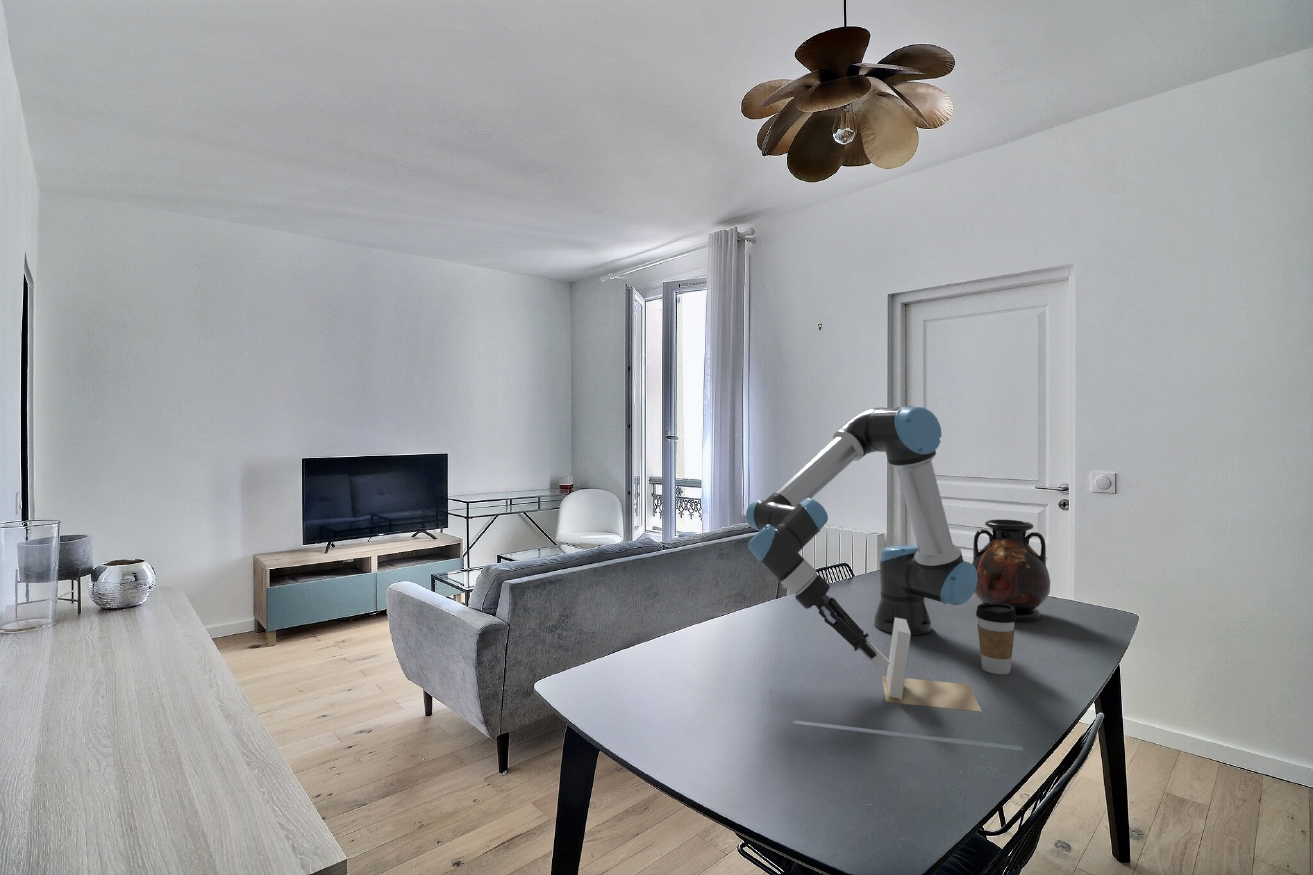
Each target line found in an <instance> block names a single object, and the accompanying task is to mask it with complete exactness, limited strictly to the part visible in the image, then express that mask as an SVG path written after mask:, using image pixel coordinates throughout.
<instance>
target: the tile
mask: <svg viewBox="0 0 1313 875" xmlns="http://www.w3.org/2000/svg"><path fill="white" fill-rule="evenodd" d="M891 635H892V636H891V642H890V648H889V649H890V650H889V656H888V657H889V658H888V660H889V661H890V664H889V665H888V666H887V672H886V680H887V686H888V691H889V697H893V698H898V699H902V693H903V688H904V681H905V678H906V673H907V666H908V665H907V664H908V657H909V651H910V644H911V636H912V635H911V633H910V630H909V627H908V624H907V621H906V619H901V618H895V619H894V626H893V633H891Z"/></svg>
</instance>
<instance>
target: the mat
mask: <svg viewBox="0 0 1313 875" xmlns="http://www.w3.org/2000/svg"><path fill="white" fill-rule="evenodd" d="M886 677H887V675H886V676H884V675H881V679H882V680H881V681H882V686H883V690H884V691H883V692H884V699H885V702H886V703H891V704H893V703H895V704H902V705H903V704H904V705H911V706H912V705H914V706H921V707H931V708H939V709H940V708H942V709H952V710H960V711H962V710H963V711H969V712H971V711H972V712H980V713H982V712H983V711H982V709H981V706H980V705H979V703H978V700H977V698H976V697H975V695H974V692H973V690H972V688H971V686H970V684H969V683H958V682H949V681H937V680H936V681H935V680H927V679H918V678H916V679H915V678H906V677H905V681H904V688H903V693H902V699H898V698H893V697H889V691H888V686H887V680H886Z"/></svg>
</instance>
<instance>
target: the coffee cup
mask: <svg viewBox="0 0 1313 875" xmlns="http://www.w3.org/2000/svg"><path fill="white" fill-rule="evenodd" d="M976 608H977V609H976V612H975V616H976V618H977V621H978V623H977V631H978V641H979V642H978V643H979V652H980V660H981V669H982V670H983V671H985V672H986V673H990V674H994V675H1001V676H1002V675H1008V674H1010V673H1011V670H1012V669H1011V667H1012V666H1011V665H1012V657H1013V648H1014V638H1015V630H1016V628H1015V622H1017V621H1016V618H1017V617H1016V613H1015V607H1013V606H1011V605H1007V604H981V605H979V604H978V605H977V607H976Z"/></svg>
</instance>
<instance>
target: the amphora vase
mask: <svg viewBox="0 0 1313 875" xmlns="http://www.w3.org/2000/svg"><path fill="white" fill-rule="evenodd" d="M984 525H985V526H986V527H988V528H990V529H991V532H992V533H991V532H990V531H989V530H987V529H979V530H977V531H976V532H975V535H974V536H973V551H972V554H973V555H972V559H973V561H972V563H971V564H972V565H974V567H975V568H976V571H977V585H976V589H975V591H974V593H973V594H974V595H975V597H976V598H977V599H978V600H979V601H980V603H979V604H978V605H981V604H1007V605H1011V606H1013V607H1015V613H1016V617H1017V618H1016V621H1015V622H1032V621H1036V620H1037V619H1039V618H1040V617H1041V611H1040V609H1038V608H1039V607H1040V606H1041V605H1042V604H1044V603H1045V601H1046V600H1047V599H1048V597H1049V594H1050V593H1051V578H1050V573H1049V570H1048V568H1047V548H1046V539H1045V538H1044V536H1043V535H1042V534H1041V533H1039V532H1035V531H1034V532H1030V533H1029V534H1027V531H1031V530H1032V529H1034V524H1033V523H1031V522H1029V521H1024V520H1013V519H990V520H989V519H988V520H986V521H985V522H984ZM982 534H985V535H987V537H988V543H986V545H985V546H984V547H982V549H981V550H980V551H979V544H978V543H979V538H980V536H981V535H982ZM1026 534H1027V535H1026ZM1033 537H1036V538H1038V539H1039V541H1040V554H1038V553H1037V551H1035V550H1034V549H1033V547H1032V546H1031V545H1030V539H1032V538H1033Z"/></svg>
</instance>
